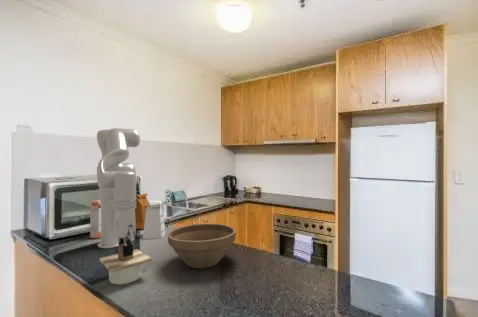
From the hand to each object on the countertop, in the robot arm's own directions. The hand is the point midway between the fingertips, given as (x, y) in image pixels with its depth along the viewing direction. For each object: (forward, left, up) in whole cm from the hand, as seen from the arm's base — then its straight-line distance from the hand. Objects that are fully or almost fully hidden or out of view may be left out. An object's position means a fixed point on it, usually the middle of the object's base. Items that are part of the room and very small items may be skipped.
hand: (125, 253), depth 94 cm
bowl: (0, 0, -9) cm, 9 cm away
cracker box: (-66, +10, -9) cm, 67 cm away
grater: (-43, +31, -9) cm, 54 cm away
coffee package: (-66, +33, -9) cm, 74 cm away
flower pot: (+8, +29, -9) cm, 31 cm away
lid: (0, 0, -3) cm, 3 cm away
